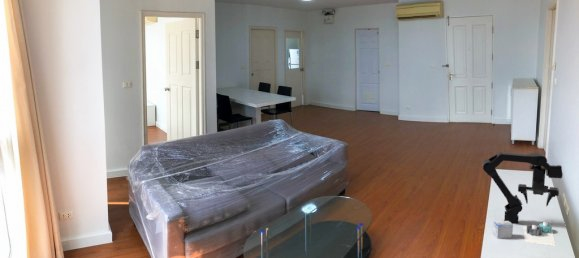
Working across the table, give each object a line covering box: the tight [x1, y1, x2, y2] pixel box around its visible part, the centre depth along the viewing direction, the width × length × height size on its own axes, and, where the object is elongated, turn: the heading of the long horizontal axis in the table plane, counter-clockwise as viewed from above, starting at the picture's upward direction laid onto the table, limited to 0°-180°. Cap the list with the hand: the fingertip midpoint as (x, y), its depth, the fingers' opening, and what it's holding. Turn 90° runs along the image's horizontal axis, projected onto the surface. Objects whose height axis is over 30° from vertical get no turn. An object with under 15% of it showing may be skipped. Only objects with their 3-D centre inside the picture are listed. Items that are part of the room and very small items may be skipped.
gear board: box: [523, 221, 556, 247], centre depth 220 cm, size 13×20×6 cm, turn 153°
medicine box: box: [492, 220, 514, 239], centre depth 221 cm, size 8×4×9 cm, turn 92°
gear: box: [526, 224, 542, 236], centre depth 223 cm, size 7×7×3 cm
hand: (536, 204), depth 232 cm, fingers open, 9 cm apart
